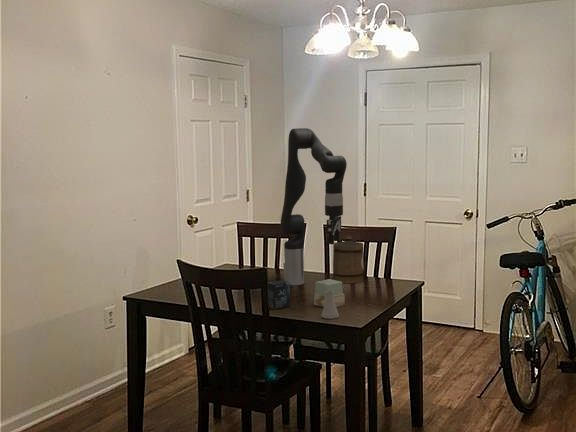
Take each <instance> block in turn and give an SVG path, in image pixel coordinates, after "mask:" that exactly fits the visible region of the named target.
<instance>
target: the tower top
mask: <svg viewBox="0 0 576 432" xmlns="http://www.w3.org/2000/svg"><path fill="white" fill-rule="evenodd" d="M314 286H315V291H314V293H315V294H319V295H323V296H326V291H333V292H334V293H333V296H335V295H340V294H344V293H343V283H342V282H340V281H336V280H333V279H330V278H328V279H324V280H323V279H322V280H319V281H315V285H314Z"/></svg>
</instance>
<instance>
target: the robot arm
mask: <svg viewBox="0 0 576 432" xmlns="http://www.w3.org/2000/svg"><path fill="white" fill-rule="evenodd" d="M287 139H288V142H287V143H288V144H287V149H288V150H287V169H286V170H287V171H286V177H285V187H284V199H283V206H282V212H281V216H280V232H281V233H282V234H283V235H293V237H291V238H290V239H288V240H287V241H284V245H283V247H284V248H283V249H284V255H283V256H284V262H283V280H284V281H287V282H290V286H301V285H304V284H305V259H304V258H305V256H304V255H305V253H304V251H305V247H304V244H305V230H306V229H305V228H306V227H305V226H306V225H305V218H304V216H303V215H302V214H292V213H293V210H294V208H295V205H296V204H297V203H298V202H299V200H300V199H301V197H302V196H303V195H304V192H305V190H306V182H307V175H306V173H305V170H304V169H303V167H302V165H301V162H300V161H299V155H298V153H299V152H298V151H299V150H307V149H310V154H311V156H312V158H313V159H314V160H315V161H316V162H317V163H318V164H319V166H320V169H321V171H322V172H324V173H327V174H334V176H333V177H331V178H327V179H326V180H325V185H324V186H325V187H324V188H325V190H324V191H325V194H324V215H325V216H327V217H329V219H326V235H328V244H329V245H334V243H335V242H340V241H341V239H340V238H341V237H340V235H341V234H340V232H341V230H342V216H343V215H344V195H343V181H344V178H345V173H346V171H347V165H348V164H347V160H346V158H345V156H343V155H334V154H333V152H332V151H331V150H330V149H329V148H328V147H327V146H325V145H324V144H323V143H322V141H321V140H320V139H319V138H318V136H317V135H316V133H315V132H314V131H313V130H312V129H310V128H305V127H304V128H301V127H300V128H299V127H298V128H292V129H290V131H289V134H288V138H287Z"/></svg>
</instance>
